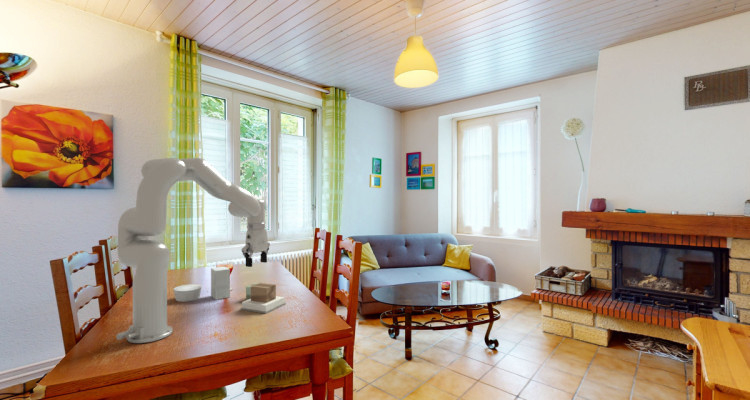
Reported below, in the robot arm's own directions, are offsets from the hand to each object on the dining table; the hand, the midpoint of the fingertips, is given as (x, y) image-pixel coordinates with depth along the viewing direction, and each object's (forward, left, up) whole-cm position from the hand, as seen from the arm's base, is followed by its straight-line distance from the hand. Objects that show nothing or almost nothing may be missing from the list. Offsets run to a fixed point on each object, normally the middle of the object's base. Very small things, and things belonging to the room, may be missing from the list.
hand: (256, 264), depth 155 cm
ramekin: (-12, +28, -16) cm, 35 cm away
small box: (-4, +17, -16) cm, 24 cm away
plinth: (-8, -11, -15) cm, 21 cm away
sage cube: (0, 0, -16) cm, 16 cm away
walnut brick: (-9, -11, -12) cm, 19 cm away
